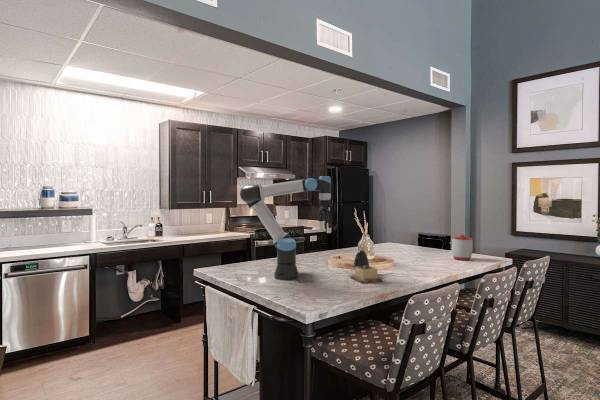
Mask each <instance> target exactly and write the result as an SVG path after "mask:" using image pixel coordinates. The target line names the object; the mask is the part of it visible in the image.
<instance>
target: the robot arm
mask: <svg viewBox="0 0 600 400" xmlns="http://www.w3.org/2000/svg"><path fill="white" fill-rule="evenodd" d="M331 185H332V181H331V176H329V175H328V176H326V175H324V176H323V175H321V176H319V178H316V179H315V178H313V177H309V178H303V179H295V180H291V181H284V182H278V183H270V184H265V185H263V184H259V183H258V184H245V185H244V186H242V187H241V189H240V190H239V196H240V199H241V200H242V201H243V202H244V203H245V204H246V205H247V206H248V208H249V209H251V210H253V211H254V214H256V216H257V217H258V219H259V220H260V222H261V223H262V225H263V226H264V228H265V229H266V231H267V232H268V233H269V235H270V237H271V238H272V239H273V240H272V241H273V242H272V243H273V245H274V247H275V248H276V267H275V270H274V274H273V276H274V278H275V279H277V280H281V281H282V280H283V281H287V280H296V279H298V278H299V276H300V275H299V270H298V267H297V259H296V258H297V243H296V240H295V239H294V238H292V237H291V235H290V234H289V233H288V232H285V231H284V229H283V228H282V227H281V225H280V224H279V222H278V221H277V219H276V217H275V215H273V213H272V212H271V210H270V209H269V207H268V206H267V204H266V202H265V198H271V197H276V196H282V195H289V194H295V193H301V192H303V193H304V192H310V191H311V192H312V191H313V192H314V191H315V192H316V191H317V192H318V191H319V192H318V194H319V195H318V199H319V203H318V204H319V207H318V215H317V218H316V219H317V221H318V232H323V231H324V217H325V219H326V233H327V234H331V233H332V223H333V222H334V219H333V214H332V207H330V206H331V203H332V201H331V199H332V198H331V197H332V194H331V193H332V191H331V190H332V189H331V188H332V186H331Z"/></svg>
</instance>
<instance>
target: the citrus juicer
mask: <svg viewBox="0 0 600 400" xmlns="http://www.w3.org/2000/svg"><path fill="white" fill-rule="evenodd" d="M449 244H451V253H452V257H453V259H454V260H458V261H470V260H471V258H472V255H473V246H474V244H473V238H472V237H468V236H467V237H466V236H465V235H464V234H460V235H459V236H455V237H454V238H453V237H451V241H450V242H449Z"/></svg>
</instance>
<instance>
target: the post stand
mask: <svg viewBox="0 0 600 400" xmlns="http://www.w3.org/2000/svg"><path fill="white" fill-rule="evenodd" d="M369 266H370V265H369ZM369 266H367V265H364V266H363V269H369ZM350 279H351V280H353V281H355V282H357V283H359V284H361V285H362V284H373V283H383V282H384V280H383V278H380V277H378V276H377V279H369V280H362V279H360V278H358V277H355V275H350Z"/></svg>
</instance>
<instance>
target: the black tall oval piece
mask: <svg viewBox="0 0 600 400" xmlns="http://www.w3.org/2000/svg"><path fill="white" fill-rule="evenodd" d="M367 255H368V254H367V253H366V251H364V250H363V249H361V250H358V251H357V253H356V254H355V257H354V261H353V267H352V268H353V270H354V272H355V267H358V266H364V265H367V266H370V263H369V258H368V256H367Z"/></svg>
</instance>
